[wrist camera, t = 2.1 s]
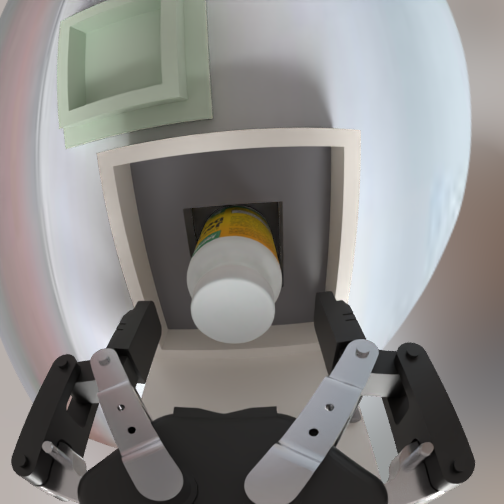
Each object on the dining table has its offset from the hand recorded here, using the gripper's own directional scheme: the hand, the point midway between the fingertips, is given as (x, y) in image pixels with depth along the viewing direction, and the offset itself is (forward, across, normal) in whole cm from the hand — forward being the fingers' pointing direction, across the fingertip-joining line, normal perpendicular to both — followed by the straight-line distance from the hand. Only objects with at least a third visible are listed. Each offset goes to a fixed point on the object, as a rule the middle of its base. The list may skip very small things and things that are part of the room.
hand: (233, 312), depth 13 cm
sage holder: (+9, +7, -15) cm, 19 cm away
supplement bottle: (+9, 0, 0) cm, 9 cm away
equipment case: (+9, 0, 0) cm, 9 cm away
